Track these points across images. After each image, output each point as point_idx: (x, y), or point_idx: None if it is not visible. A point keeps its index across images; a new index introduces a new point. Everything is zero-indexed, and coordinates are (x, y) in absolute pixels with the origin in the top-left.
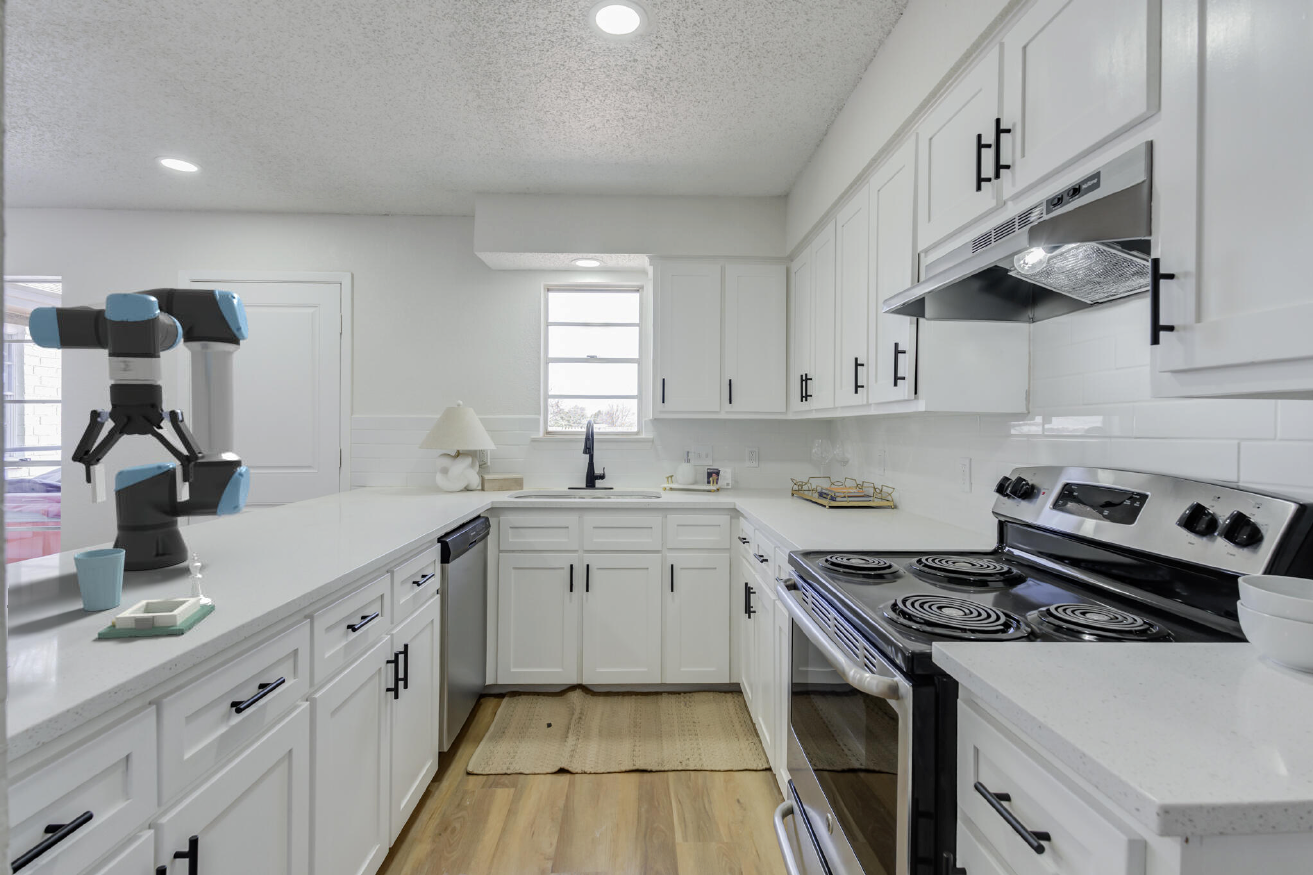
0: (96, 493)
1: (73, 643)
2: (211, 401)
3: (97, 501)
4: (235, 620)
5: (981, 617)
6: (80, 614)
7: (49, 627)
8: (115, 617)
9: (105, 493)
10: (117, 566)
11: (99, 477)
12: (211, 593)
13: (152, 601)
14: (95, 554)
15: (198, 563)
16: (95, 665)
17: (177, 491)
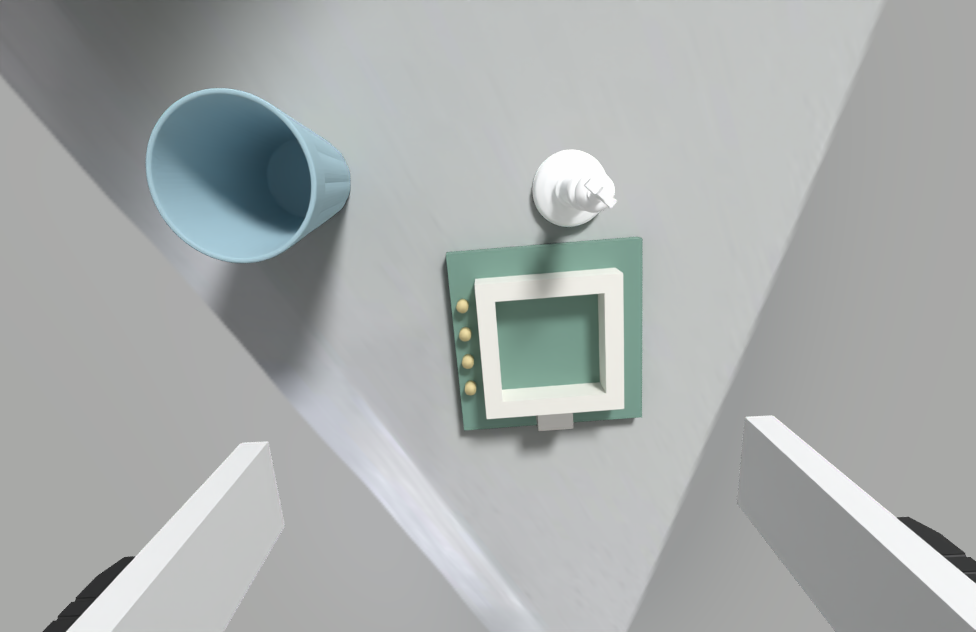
0: (257, 568)
1: (430, 445)
2: None
3: (281, 527)
4: (720, 326)
5: None
6: (299, 246)
7: (299, 341)
8: (487, 418)
9: (247, 468)
10: (326, 197)
11: (188, 629)
12: (559, 59)
13: (507, 299)
14: (180, 120)
15: (607, 188)
16: (549, 553)
17: (776, 549)
